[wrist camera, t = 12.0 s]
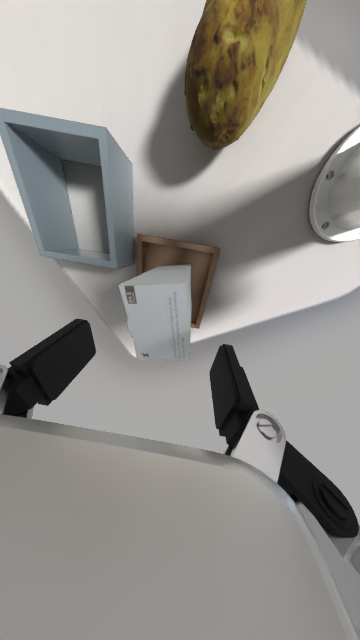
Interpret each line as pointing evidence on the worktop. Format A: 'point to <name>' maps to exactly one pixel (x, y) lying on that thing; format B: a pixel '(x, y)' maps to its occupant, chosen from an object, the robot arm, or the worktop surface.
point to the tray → (180, 253)
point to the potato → (236, 64)
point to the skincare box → (160, 312)
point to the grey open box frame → (50, 186)
